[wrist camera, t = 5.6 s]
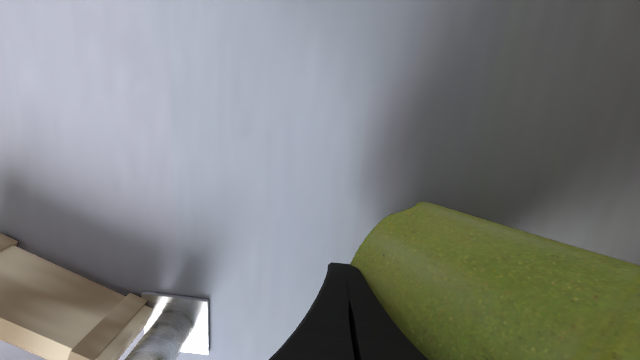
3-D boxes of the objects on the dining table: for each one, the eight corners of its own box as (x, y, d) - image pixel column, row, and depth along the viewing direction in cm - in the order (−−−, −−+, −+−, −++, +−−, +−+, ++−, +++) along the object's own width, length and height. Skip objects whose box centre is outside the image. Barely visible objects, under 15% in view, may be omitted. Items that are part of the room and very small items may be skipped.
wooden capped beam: (156, 304, 17) (104, 365, 13) (147, 324, 17) (95, 388, 13) (-7, 230, 16) (-110, 273, 12) (-11, 252, 16) (-112, 300, 13)
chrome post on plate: (208, 299, 16) (162, 374, 12) (209, 351, 18) (167, 437, 13) (143, 291, 17) (74, 362, 12) (147, 343, 18) (86, 426, 13)
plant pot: (251, 351, 10) (516, 933, 4) (398, 112, 10) (963, 233, 3) (395, 361, 16) (600, 588, 9) (490, 209, 16) (767, 325, 9)
